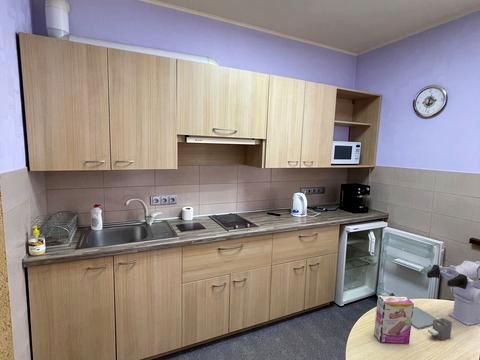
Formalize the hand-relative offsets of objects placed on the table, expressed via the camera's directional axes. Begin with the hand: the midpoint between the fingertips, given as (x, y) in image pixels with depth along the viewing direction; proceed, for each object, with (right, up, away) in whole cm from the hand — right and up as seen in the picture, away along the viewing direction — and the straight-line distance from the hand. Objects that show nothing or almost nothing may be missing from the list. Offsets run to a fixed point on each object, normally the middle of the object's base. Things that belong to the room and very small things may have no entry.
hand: (437, 279), depth 102 cm
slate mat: (-3, -20, +8) cm, 22 cm away
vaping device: (-17, -20, +6) cm, 27 cm away
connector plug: (-2, -21, -3) cm, 22 cm away
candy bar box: (-22, -21, -6) cm, 31 cm away
